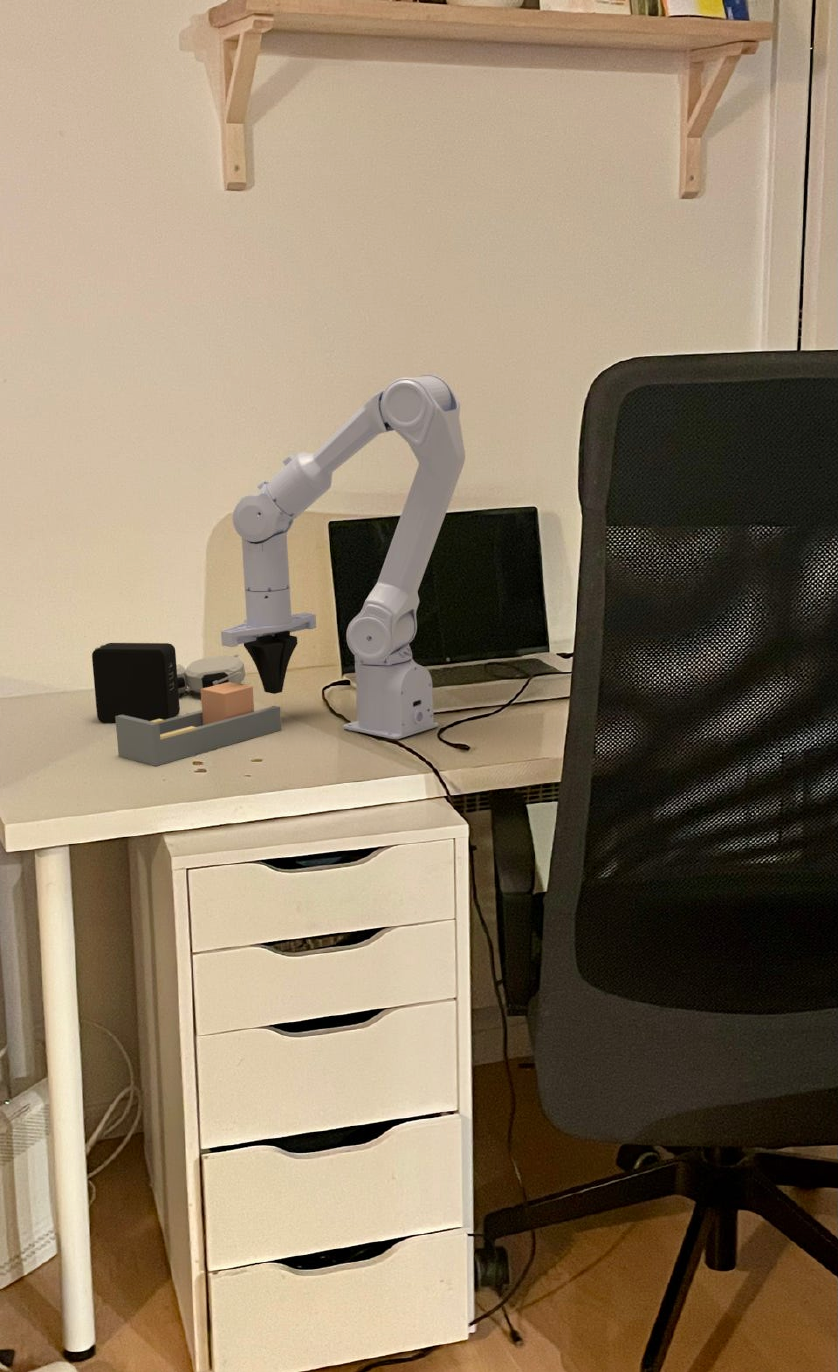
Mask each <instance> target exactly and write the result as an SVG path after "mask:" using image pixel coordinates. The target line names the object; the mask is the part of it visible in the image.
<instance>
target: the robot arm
mask: <svg viewBox="0 0 838 1372" xmlns="http://www.w3.org/2000/svg"><path fill="white" fill-rule="evenodd" d="M460 411H461V403H460V401H459V400H458V398H457V396H456V395H455V393H454V391H453V389H452V387H450V385H449V384H448V382H446V380H445V379H443V378H442V377H440V376H438V375H434V374H422V375H419V376H417V377H400V378H397V379H394V380H393V381H392V382H390V383H389V384H388V385H387V386H386V388H385V389H384V390H380V391H379V392H377V393H375V394H374V395H373V396H372V397H370V398H369V399H368V400H367V401H366V402H365V403H364V404H363V405H362V406H361V407H360V408H359V409H358V410H357V411H356V412H355V413H354V414H352V416H350V418H349V419H347V421H345V423H344V424H342V425H341V427H340V428H338V429H337V430H336V431H335V432H334V433H333V435H331V436H330V437H329V439H327V440H326V441H325V442H324V443H323V444H322V445H321V446H320V447H319V448H318V449H317V450H315V452H314V453H311V452H303V451H302V452H299V453H297V454H296V455H295V454H291V455H288V456H287V457H286V458H284V459H283V460H282V463H283V465H284V466H283V467H282V468H281V469H280V470H278V472H276V473H275V475H273V476H272V477H270V479H269V480H262V481H261V482H260V483H259V484H258V485H257V489H258V491H257V494H247V495H245V496H243V497H241V498H240V500H239V502H238V503H237V504H236V505H235V506H234V510H233V513H232V523H233V527H234V529H235V531H236V533H237V534H238V535H239V536H240V537H241V546H242V547H241V548H242V567H243V568H242V570H243V582H244V583H243V585H244V598H245V613H246V619H244V620H243V622H242V623H241V624H237V625H234V626H233V627H229V628H227V629H224V630H223V629H222V630H220V638H221V646H223V647H229V648H235V647H238V645H243V647H244V648H245V650H246V651H247V653H248V654H249V656H250V657H251V659H252V661H253V663H254V665H255V667H256V670H257V672H258V675H259V678H260V681H261V684H262V688H263V691H264V692H265V693H269V694H274V695H276V694H279V693H283V690H284V683H285V679H286V674H287V670H288V666H289V664H290V660H291V657H292V655H293V652H294V651H295V649H296V647H297V645H298V637H297V635H296V636H295V635H291V633H295V632H299V631H304V630H314V629H317V619H316V618H317V616H316V615H317V614H316V613H312V612H302V613H295V614H292V606H291V603H292V602H291V586H290V585H291V584H290V570H289V569H290V568H289V567H290V566H289V551H288V540H287V539H288V536H287V535H288V532H289V531H290V530H291V528H292V526H293V524H294V521H295V519H297V518H298V517H299V516H300V515H301V514H302V513H304V512H305V511H306V510H307V509H308V508H310V507H311V505H313V504H314V503H316V501H317V500H319V498H320V497H322V496H323V495H324V494H326V492H328V491H329V490H330V489H331V487H332V481H333V480H332V479H333V478H332V477H333V472H334V471H336V470H337V469H338V468H340V467H341V466H342V465H343V464H344V463H346V462H347V461H348V460H349V459H351V458H352V457H353V456H354V455H355V454H357V453H358V452H359V451H361V450H362V449H363V448H364V447H366V445H367V444H369V443H371V441H372V440H374V439H375V438H376V437H378V436H379V435H380V434H384V433H389V432H392V431H395V432H396V433H397V434H398V435H399V436H400V437H401V438H402V439H403V440H404V441H405V442H406V443H408V446H409V447H410V449H411V451H412V453H413V456H415V459H416V460H417V462H418V466H417V469H416V471H415V475H414V478H413V480H412V483H411V485H410V487H409V488H410V489H409V491H408V494H407V496H406V500H405V503H404V506H403V509H402V511H401V514H400V517H399V519H398V523H397V526H396V528H395V531H394V533H393V534H394V535H393V537H392V539H391V542H390V546H389V548H388V551H387V553H386V557H385V559H384V563H383V565H382V568H381V571H380V573H379V576H378V579H377V582H376V584H375V585H374V587H373V588H372V590H371V591H370V592H369V594H368V596H367V598H366V599H365V601H364V603H363V606H362V608H361V610H360V612H358V614H357V615H356V616H355V617H353V619H352V620H351V621H350V622H349V624H348V626H347V628H346V633H345V634H346V637H345V638H346V643H347V646H348V648H349V650H350V652H351V653H352V654H353V655H354V670H355V671H354V672H355V674H354V675H355V689H356V691H355V693H356V696H355V697H356V711H357V717H356V718H357V720H354V721H351V722H348V723H345V724H343V725H342V727H343V729H345V730H348V731H354V732H360V733H363V734H368V735H372V736H376V737H383V738H385V739H386V738H387V739H392V740H401V739H403V738H406V737H408V736H412V735H415V734H419V733H422V732H425V731H428V730H431V729H434V728H437V727H439V723H438V722H436V721H435V720H434V699H433V698H434V694H433V691H434V690H433V679H432V675H431V673H430V671H429V670H428V669H427V668H426V667H425V666H422V665H420V664H418V663H417V662H416V661H415V660H414V659H413V652H412V649H411V646H410V643H411V642H413V640H414V639H415V636H416V634H417V632H418V631H417V629H418V622H417V610H418V608H419V604H420V597H419V594H418V591H419V590H420V589H419V588H420V586H421V583H422V580H423V577H424V575H425V572H426V569H427V567H428V563H429V562H430V558H431V555H432V552H433V551H434V547H435V545H436V541H437V539H438V536H439V533H440V530H441V527H442V524H443V523H444V520H445V517H446V514H447V512H448V508H449V506H450V502H451V500H452V497H453V494H454V492H455V489H456V487H457V483H458V481H459V478H460V475H461V473H462V470H463V468H464V465H465V460H466V452H465V446H464V445H465V443H464V440H463V439H464V438H463V433H462V427H461V421H460Z"/></svg>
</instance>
